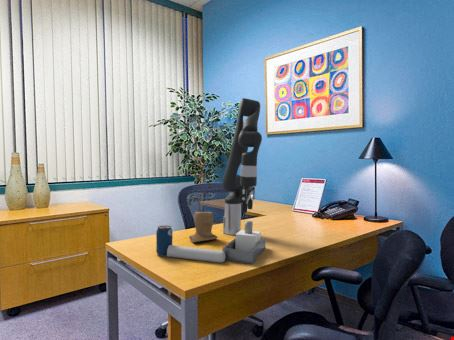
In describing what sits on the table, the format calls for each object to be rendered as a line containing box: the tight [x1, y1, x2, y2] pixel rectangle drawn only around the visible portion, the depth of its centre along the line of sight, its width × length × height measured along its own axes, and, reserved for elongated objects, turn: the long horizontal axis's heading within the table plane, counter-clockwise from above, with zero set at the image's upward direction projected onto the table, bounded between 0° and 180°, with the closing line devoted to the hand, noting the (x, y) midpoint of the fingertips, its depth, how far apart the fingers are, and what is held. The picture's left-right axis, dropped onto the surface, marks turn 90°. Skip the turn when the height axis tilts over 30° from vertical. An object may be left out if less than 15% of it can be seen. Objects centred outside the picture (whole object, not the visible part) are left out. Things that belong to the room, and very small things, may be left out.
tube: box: [166, 244, 226, 264], centre depth 129 cm, size 5×5×25 cm
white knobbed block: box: [234, 220, 262, 251], centre depth 142 cm, size 10×9×12 cm
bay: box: [221, 237, 266, 265], centre depth 137 cm, size 13×24×5 cm, turn 161°
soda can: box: [155, 225, 173, 257], centre depth 135 cm, size 7×7×12 cm
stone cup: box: [188, 211, 219, 243], centre depth 158 cm, size 15×12×15 cm
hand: (247, 210), depth 141 cm, fingers open, 8 cm apart
